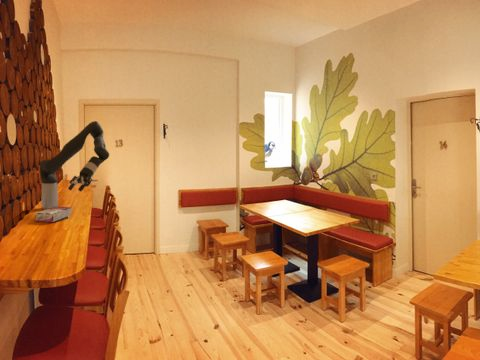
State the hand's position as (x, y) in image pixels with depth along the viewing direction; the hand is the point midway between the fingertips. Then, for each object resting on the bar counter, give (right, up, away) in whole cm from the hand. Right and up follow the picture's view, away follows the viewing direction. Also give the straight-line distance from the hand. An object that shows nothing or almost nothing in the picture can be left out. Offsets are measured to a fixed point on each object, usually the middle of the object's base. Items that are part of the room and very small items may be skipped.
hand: (74, 190), depth 212 cm
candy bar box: (-3, -12, -7) cm, 14 cm away
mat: (-6, -17, -15) cm, 23 cm away
